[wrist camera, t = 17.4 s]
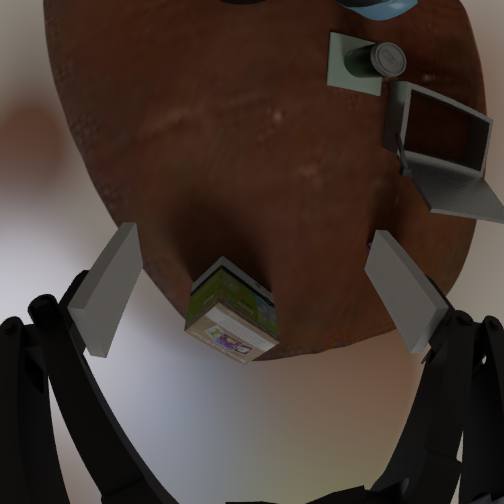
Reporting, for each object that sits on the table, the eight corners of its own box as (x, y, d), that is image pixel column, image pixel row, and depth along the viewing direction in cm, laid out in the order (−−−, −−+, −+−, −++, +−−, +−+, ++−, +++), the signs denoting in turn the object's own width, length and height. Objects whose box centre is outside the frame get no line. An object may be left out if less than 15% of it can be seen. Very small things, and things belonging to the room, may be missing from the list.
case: (383, 78, 38) (448, 82, 23) (474, 114, 40) (535, 136, 24) (370, 171, 48) (423, 211, 32) (460, 188, 50) (513, 226, 34)
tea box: (274, 292, 62) (282, 343, 49) (242, 316, 65) (244, 367, 53) (222, 252, 56) (218, 303, 43) (191, 282, 59) (181, 333, 47)
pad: (329, 32, 34) (331, 31, 34) (382, 46, 35) (384, 46, 34) (326, 84, 39) (327, 84, 39) (378, 95, 40) (380, 96, 40)
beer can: (336, 63, 37) (366, 57, 27) (353, 43, 35) (387, 33, 24) (359, 84, 39) (394, 85, 28) (376, 64, 36) (413, 61, 26)
